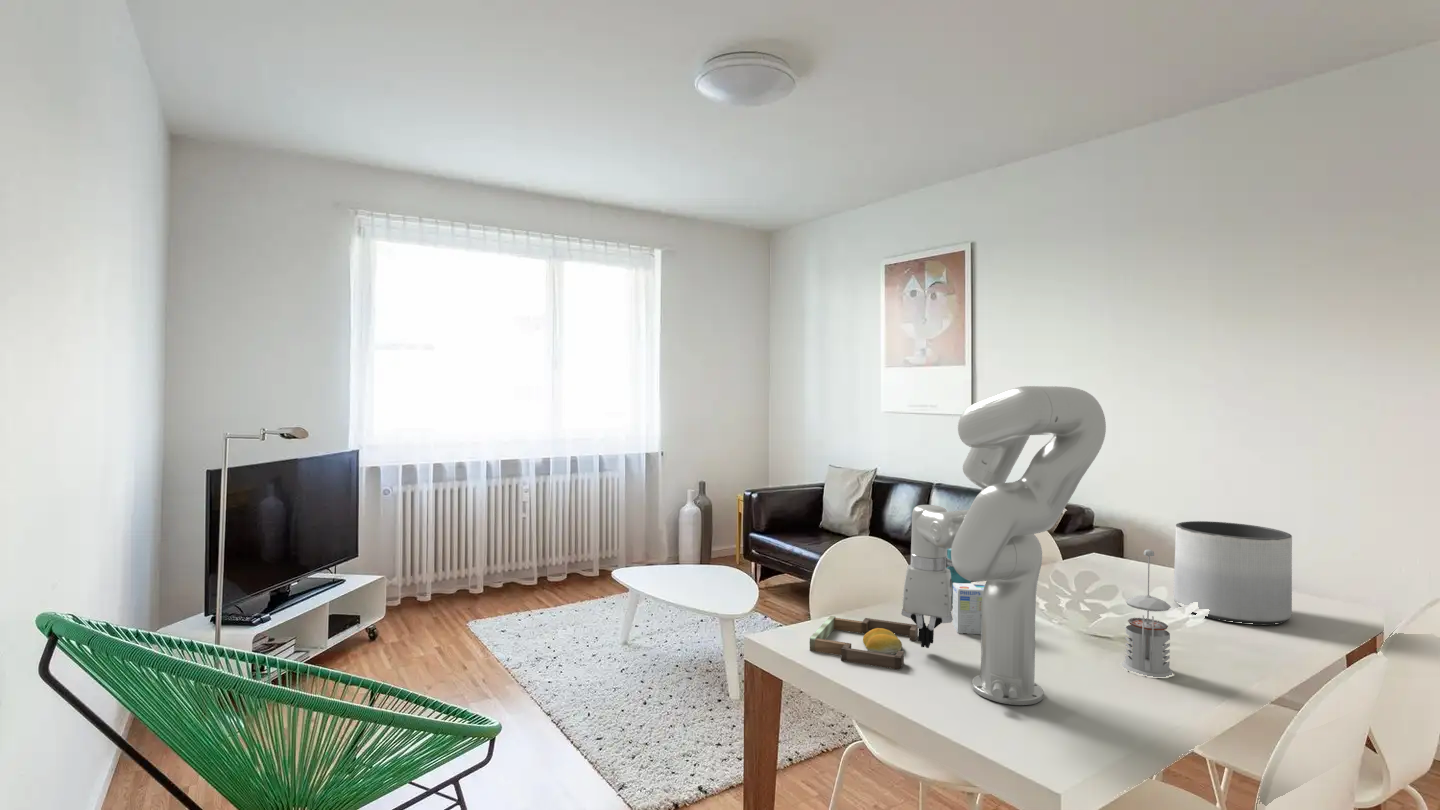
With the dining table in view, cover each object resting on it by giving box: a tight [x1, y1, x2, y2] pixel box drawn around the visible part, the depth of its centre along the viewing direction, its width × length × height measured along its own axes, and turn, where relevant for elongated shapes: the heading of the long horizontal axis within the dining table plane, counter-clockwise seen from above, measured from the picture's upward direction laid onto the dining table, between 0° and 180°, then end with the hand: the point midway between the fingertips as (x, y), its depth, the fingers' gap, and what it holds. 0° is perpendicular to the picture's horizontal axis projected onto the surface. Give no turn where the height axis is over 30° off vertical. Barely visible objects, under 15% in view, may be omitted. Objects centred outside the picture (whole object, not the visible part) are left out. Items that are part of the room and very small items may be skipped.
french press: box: [1120, 549, 1174, 677], centre depth 147 cm, size 10×12×25 cm
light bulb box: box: [952, 582, 986, 635], centre depth 172 cm, size 11×7×11 cm, turn 84°
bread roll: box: [862, 628, 903, 655], centre depth 159 cm, size 8×9×4 cm
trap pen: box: [809, 615, 919, 671], centre depth 161 cm, size 23×20×3 cm
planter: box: [1173, 520, 1293, 625], centre depth 189 cm, size 25×25×22 cm
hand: (925, 645), depth 156 cm, fingers closed
